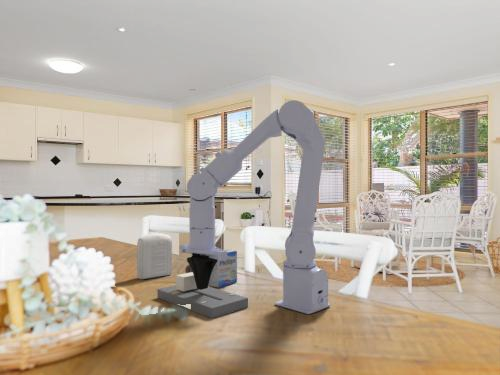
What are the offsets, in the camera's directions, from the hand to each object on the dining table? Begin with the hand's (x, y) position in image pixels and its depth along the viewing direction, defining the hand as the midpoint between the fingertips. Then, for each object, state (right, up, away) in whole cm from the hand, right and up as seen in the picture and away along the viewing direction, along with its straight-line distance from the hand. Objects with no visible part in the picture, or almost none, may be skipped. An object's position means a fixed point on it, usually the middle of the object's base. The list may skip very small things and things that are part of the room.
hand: (202, 288), depth 89 cm
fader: (-4, -1, +4) cm, 5 cm away
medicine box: (+3, -3, +17) cm, 17 cm away
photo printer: (-17, -3, +25) cm, 30 cm away
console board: (0, -3, 0) cm, 3 cm away
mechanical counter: (-2, -3, +29) cm, 30 cm away
